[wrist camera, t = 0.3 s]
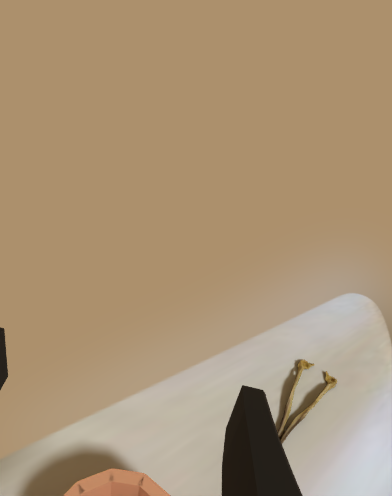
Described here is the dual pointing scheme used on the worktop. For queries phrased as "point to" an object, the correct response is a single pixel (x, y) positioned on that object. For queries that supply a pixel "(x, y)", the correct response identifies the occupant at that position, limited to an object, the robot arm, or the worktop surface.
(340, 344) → the worktop surface
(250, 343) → the worktop surface
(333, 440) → the worktop surface
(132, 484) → the bowl
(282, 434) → the tongs
